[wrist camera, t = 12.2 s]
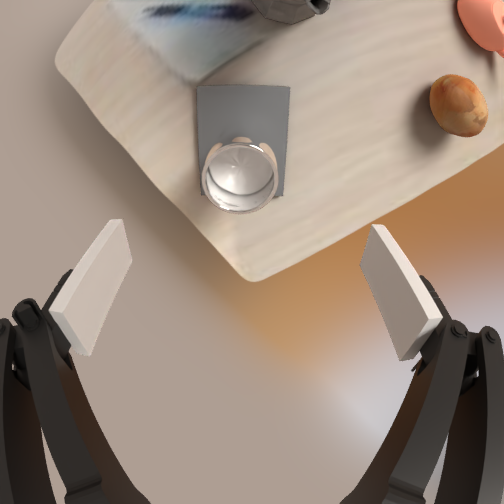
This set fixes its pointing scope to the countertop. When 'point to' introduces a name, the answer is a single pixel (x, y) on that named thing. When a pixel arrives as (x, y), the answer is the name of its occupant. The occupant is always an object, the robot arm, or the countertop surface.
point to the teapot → (484, 22)
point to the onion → (458, 105)
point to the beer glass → (240, 170)
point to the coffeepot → (291, 9)
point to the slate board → (244, 118)
